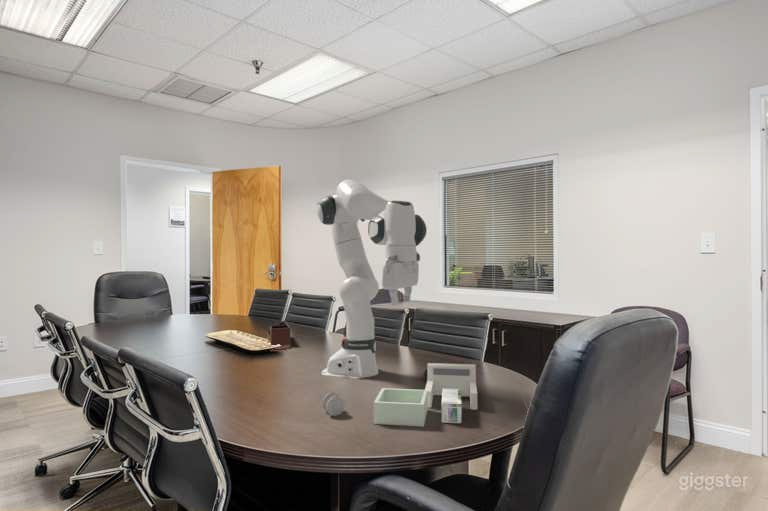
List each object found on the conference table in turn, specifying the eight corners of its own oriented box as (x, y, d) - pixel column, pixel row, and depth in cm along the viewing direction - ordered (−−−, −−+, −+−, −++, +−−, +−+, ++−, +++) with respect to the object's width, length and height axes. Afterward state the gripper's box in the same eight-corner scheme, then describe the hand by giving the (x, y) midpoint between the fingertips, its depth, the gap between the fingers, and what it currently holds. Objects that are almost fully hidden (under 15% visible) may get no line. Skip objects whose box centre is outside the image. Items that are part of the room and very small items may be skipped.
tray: (373, 423, 129) (373, 402, 129) (382, 407, 143) (381, 388, 143) (423, 426, 127) (423, 404, 127) (427, 409, 141) (427, 389, 141)
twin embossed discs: (326, 417, 135) (326, 396, 135) (322, 412, 139) (322, 392, 139) (344, 414, 137) (344, 394, 137) (340, 410, 141) (340, 390, 141)
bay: (424, 407, 143) (424, 375, 143) (428, 392, 159) (427, 362, 159) (477, 409, 141) (477, 376, 141) (475, 394, 156) (475, 364, 156)
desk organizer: (270, 351, 229) (270, 328, 229) (266, 341, 257) (266, 320, 257) (291, 350, 232) (291, 327, 232) (285, 339, 260) (285, 319, 260)
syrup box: (460, 407, 143) (462, 424, 129) (441, 406, 144) (441, 423, 130) (460, 388, 143) (462, 403, 129) (441, 387, 144) (441, 402, 130)
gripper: (397, 255, 124) (398, 307, 124) (422, 255, 143) (422, 300, 143) (376, 256, 127) (376, 306, 127) (402, 255, 146) (403, 299, 146)
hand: (401, 303), depth 135 cm, fingers open, 8 cm apart
